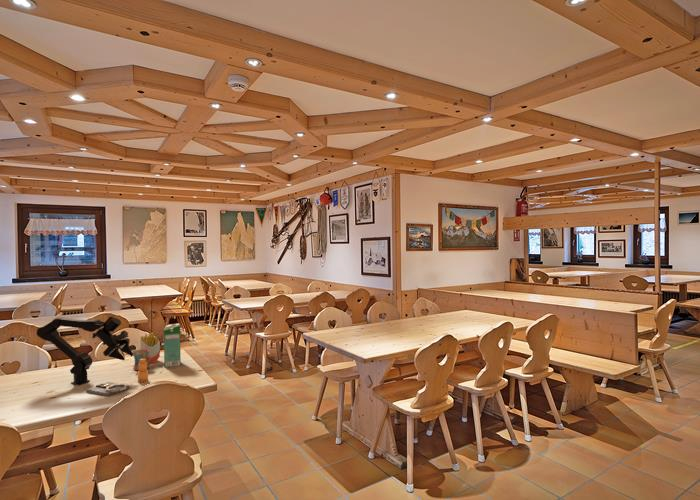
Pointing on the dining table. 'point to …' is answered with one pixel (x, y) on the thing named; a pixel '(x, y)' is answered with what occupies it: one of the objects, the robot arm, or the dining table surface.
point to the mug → (140, 357)
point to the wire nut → (142, 371)
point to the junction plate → (108, 389)
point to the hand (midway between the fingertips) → (128, 357)
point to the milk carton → (172, 345)
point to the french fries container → (150, 347)
